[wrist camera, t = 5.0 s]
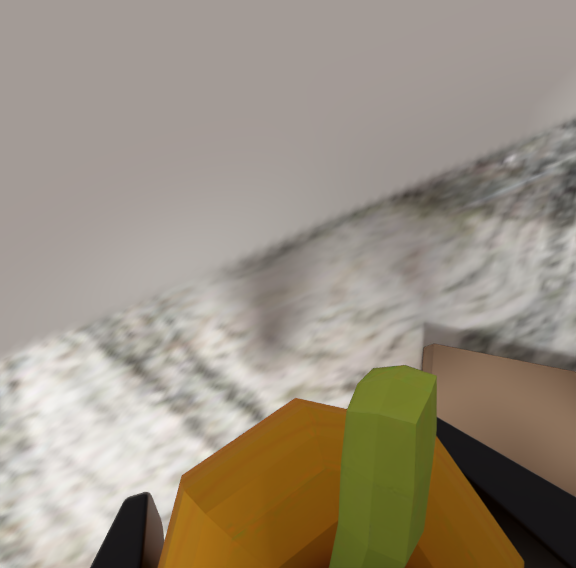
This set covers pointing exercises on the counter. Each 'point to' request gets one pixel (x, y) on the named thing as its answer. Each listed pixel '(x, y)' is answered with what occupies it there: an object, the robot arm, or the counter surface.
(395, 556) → the carrot
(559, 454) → the walnut board
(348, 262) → the counter surface
